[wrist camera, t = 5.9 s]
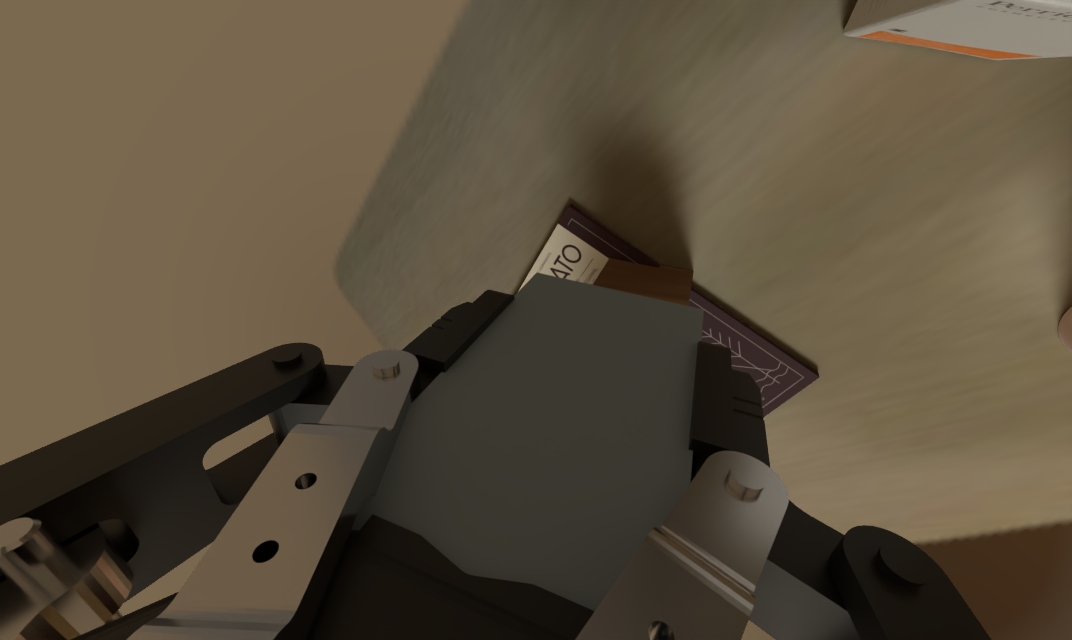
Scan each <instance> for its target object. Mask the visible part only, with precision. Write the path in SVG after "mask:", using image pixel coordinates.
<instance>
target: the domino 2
mask: <svg viewBox="0 0 1072 640" xmlns="http://www.w3.org/2000/svg"><path fill="white" fill-rule="evenodd" d="M692 278H693V271H689V270H684V269H679V268H674V267H669V266H664V265H660V268H657V267H652V266H647V265H642V264H637V263H632V262H627V261H622V260H617V259H612V258H609V260H608V261H607V263H606V264H605V266H604V267H603V269H602V271H601V272H600V274H599V275H598V277H597V279H596V280H595V282H594V283H593V285H596V286H600V287H605V288H609V289H614V290H618V291H623V292H627V293H632V294H636V295H641V296H645V297H650V298H654V299H659V300H663V301H668V302H672V303H677V304H681V305H686V306H688V305H689V298H690V291H691V284H692Z"/></svg>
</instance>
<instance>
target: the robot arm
mask: <svg viewBox="0 0 1072 640" xmlns="http://www.w3.org/2000/svg"><path fill="white" fill-rule="evenodd" d="M514 299H515V297H514V296H513V295H509V294H505V293H501V292H497V291H493V290H487V291H485V292H484V293H483V294H482V295H481V296H480V297H479V298H478V299H476V300H475V301H474V302H473V303H470V302H466V303H463V304H461V305H458V306H456V307H453V308H451V309H450V310H449V311H448V312H446V313H445V314H444V315H443V316H442V317H441V319H438V320H437V321H436V322H435V323H433V324H432V327H429V328H427V329H426V330H425V331H424V332H423V333H422V334H420V335H419V336H418V337H417V338H416V339H414V340H413V341H412V342H411V343H410V344H408V345H407V346H406V347H405V348H404V349H403V350H396V349H389V350H381V351H377V352H374V353H371V354H369V355H367V356H365V357H363V358H362V359H360V360H359V361H358V362H357V363H356V364H355V366H340V365H325V363H324V359H323V354H322V351H321V350H320V348H318V347H317V346H315V345H312V344H308V343H291V344H285V345H281V346H278V347H275V348H272V349H270V350H267V351H265V352H263V353H261V354H258V355H256V356H253V357H251V358H249V359H246V360H244V361H242V362H240V363H237V364H235V365H232V366H230V367H228V368H226V369H223V370H221V371H219V372H217V373H214V374H212V375H209V376H207V377H205V378H202V379H200V380H198V381H196V382H193V383H191V384H189V385H186V386H184V387H182V388H179V389H177V390H175V391H172V392H170V393H168V394H165V395H163V396H161V397H158V398H156V399H154V400H151V401H149V402H147V403H144V404H142V405H140V406H138V407H135V408H133V409H131V410H128V411H126V412H124V413H121V414H119V415H117V416H114V417H112V418H110V419H107V420H105V421H103V422H101V423H98V424H96V425H94V426H91V427H89V428H86V429H84V430H82V431H80V432H77V433H75V434H73V435H70V436H68V437H66V438H63V439H61V440H59V441H56V442H54V443H52V444H49V445H47V446H45V447H42V448H40V449H38V450H35V451H33V452H31V453H28V454H26V455H24V456H22V457H19V458H17V459H15V460H12V461H10V462H8V463H5V464H3V465H1V466H0V640H741V638H742V635H743V633H744V630H745V628H746V625H747V622H748V620H750V621H751V622H753V623H754V624H755V625H757V626H758V627H760V628H761V629H762V630H764V631H765V632H766V633H768V634H769V635H770V636H772V637H773V638H775V639H776V640H991V638H990V637H989V635H988V634H987V633H986V631H985V630H984V628H983V627H982V625H981V624H980V622H979V621H978V620H977V618H976V617H975V615H974V614H973V612H972V611H971V609H970V608H969V607H968V605H967V604H966V602H965V601H964V599H963V598H962V597H961V595H960V594H959V592H958V591H957V589H956V588H955V586H954V585H953V583H952V582H951V581H950V579H949V578H948V576H947V575H946V574H945V573H944V571H943V570H942V569H941V568H940V567H939V565H938V564H937V563H936V562H935V561H934V560H933V559H932V558H931V557H929V556H928V555H927V554H926V553H925V552H923V551H922V550H921V549H920V548H918V547H917V546H916V545H914V544H913V543H911V542H910V541H908V540H907V539H905V538H903V537H901V536H899V535H897V534H895V533H893V532H891V531H888V530H885V529H882V528H879V527H874V526H865V525H863V526H856V527H853V528H851V529H850V530H849V531H847V533H846V534H845V535H843V534H841V533H840V532H838V531H836V530H834V529H832V528H831V527H829V526H827V525H825V524H824V523H822V522H820V521H818V520H817V519H815V518H813V517H811V516H810V515H808V514H807V513H805V512H803V511H802V510H801V509H799V508H798V507H797V506H795V505H794V504H793V503H792V502H791V501H790V500H789V496H788V492H787V489H786V487H785V485H784V483H783V482H782V480H781V479H780V477H779V476H778V475H777V474H776V473H775V472H774V471H773V470H772V469H771V468H770V462H769V455H768V447H767V439H766V431H765V423H764V420H763V418H764V415H763V407H762V399H761V391H760V388H759V387H758V385H757V384H756V382H755V381H754V380H753V378H752V377H751V375H750V374H749V373H745V372H741V371H737V370H733V369H732V364H731V348H728V347H724V346H720V345H716V344H712V343H708V342H703V341H699V342H698V347H697V358H696V370H695V381H694V392H693V403H692V414H691V425H690V436H689V447H688V450H692V451H693V457H692V471H691V483H690V485H689V486H688V488H687V489H686V491H685V492H684V493H683V495H682V496H681V498H680V499H679V501H678V502H677V504H676V505H675V507H674V508H673V510H672V511H671V513H670V514H669V516H668V517H667V519H666V520H665V522H664V523H663V525H662V526H661V527H660V528H657V527H654V528H653V529H652V530H651V531H650V533H649V534H648V535H647V537H646V538H645V539H644V541H643V542H642V544H641V545H640V547H639V548H638V549H637V551H636V552H635V554H634V555H633V557H632V558H631V560H630V561H629V562H628V564H627V565H626V567H625V568H624V570H623V571H622V573H621V574H620V576H619V577H618V578H617V580H616V581H615V583H614V584H613V586H612V587H611V589H610V590H609V591H608V593H607V594H606V596H605V597H604V599H603V600H602V602H601V603H600V604H599V606H598V607H597V609H596V610H595V612H594V611H593V610H591V609H589V608H587V607H584V606H582V605H580V604H577V603H575V602H573V601H571V600H568V599H566V598H564V597H561V596H559V595H557V594H555V593H552V592H550V591H548V590H545V589H543V588H541V587H538V586H536V585H534V584H529V583H522V582H515V581H508V580H501V579H494V578H487V577H480V576H473V575H469V574H467V573H465V572H463V571H462V570H461V569H459V568H458V567H457V566H456V565H455V564H454V563H452V562H451V561H450V560H449V559H448V558H447V557H446V556H444V555H443V554H442V553H441V552H440V551H439V550H437V549H436V548H435V547H434V546H433V545H432V544H430V543H429V542H428V541H427V540H426V539H425V538H424V537H422V536H421V535H419V534H417V533H415V532H413V531H410V530H408V529H406V528H403V527H401V526H399V525H397V524H394V523H392V522H390V521H387V520H385V519H383V518H381V517H378V516H376V515H374V514H372V515H371V517H370V518H369V519H368V520H367V522H366V523H365V524H364V525H363V527H362V528H361V529H360V530H351V529H352V526H353V524H354V522H355V519H356V517H357V514H358V512H359V510H360V507H361V505H362V503H363V501H364V500H365V498H366V497H367V496H368V495H369V496H375V495H376V493H377V490H378V488H379V485H380V483H381V480H382V477H383V475H384V472H385V470H386V467H387V465H388V462H389V459H390V457H391V454H392V452H393V449H394V447H395V444H396V441H397V439H398V436H399V434H400V431H401V429H402V426H403V423H404V421H405V418H406V416H407V413H408V411H409V408H410V406H411V403H412V402H413V401H414V400H415V399H416V398H417V397H418V396H419V395H420V394H421V393H422V392H423V391H424V390H425V389H426V388H427V387H428V386H429V385H430V384H431V383H432V381H433V380H434V379H435V378H436V377H437V376H438V375H439V374H440V373H441V372H444V373H445V372H446V371H447V370H448V369H449V368H450V367H451V366H452V365H453V364H454V363H455V362H456V361H457V360H458V358H459V357H460V356H461V355H462V354H463V353H464V352H465V351H466V350H467V349H468V348H469V347H470V346H471V345H472V344H473V343H474V341H475V340H476V339H477V338H478V337H479V336H480V335H481V334H482V333H483V332H484V331H485V330H486V329H487V328H488V327H489V326H490V324H491V323H492V322H493V321H494V320H495V319H496V318H497V317H498V316H499V315H500V314H501V313H502V312H503V311H504V310H505V309H506V307H507V306H508V305H509V304H510V303H511V302H512V301H513V300H514ZM266 415H268V417H269V420H270V422H271V425H272V428H273V431H274V432H273V433H272V434H270V435H268V436H266V437H265V438H263V439H261V440H259V441H258V442H256V443H254V444H252V445H251V446H249V447H247V448H246V449H244V450H242V451H240V452H239V453H237V454H235V455H233V456H232V457H230V458H228V459H226V460H225V461H223V462H221V463H220V464H218V465H216V466H214V467H212V468H210V469H208V470H205V469H204V467H203V463H202V461H203V457H204V455H205V453H206V452H207V450H208V449H209V448H210V447H211V446H212V445H213V444H215V443H216V442H218V441H220V440H222V439H223V438H225V437H227V436H229V435H231V434H233V433H235V432H236V431H238V430H240V429H242V428H244V427H246V426H248V425H249V424H251V423H253V422H255V421H257V420H259V419H261V418H262V417H264V416H266ZM213 541H214V542H213ZM212 542H213V543H212ZM210 543H212V545H211V546H210V548H209V549H208V550H207V552H206V553H205V555H204V556H203V558H202V559H201V561H200V562H199V564H198V565H197V566H196V568H195V569H194V571H193V572H192V574H191V575H190V576H189V578H188V579H187V581H186V582H185V584H184V585H183V587H182V588H181V589H180V591H179V592H177V593H175V594H173V595H170V596H168V597H166V598H164V599H161V600H159V601H157V602H155V603H152V604H150V605H148V606H145V607H143V608H141V609H139V610H136V611H134V612H132V613H130V614H127V615H125V616H123V617H122V614H121V612H120V611H119V610H118V609H119V608H120V607H121V606H122V604H123V603H124V602H126V601H127V600H129V599H130V598H132V597H133V596H135V595H136V594H137V593H139V592H140V591H142V590H143V589H145V588H146V587H148V586H149V585H151V584H152V583H153V582H155V581H156V580H158V579H159V578H161V577H162V576H164V575H165V574H167V573H168V572H170V571H171V570H172V569H174V568H175V567H177V566H178V565H180V564H181V563H183V562H184V561H186V560H187V559H188V558H190V557H191V556H193V555H194V554H196V553H197V552H199V551H200V550H201V549H203V548H204V547H206V546H207V545H209V544H210Z"/></svg>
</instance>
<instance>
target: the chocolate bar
mask: <svg viewBox="0 0 1072 640" xmlns="http://www.w3.org/2000/svg"><path fill="white" fill-rule="evenodd" d="M609 258H612V259H617V260H622V261H627V262H632V263H637V264H642V265H647V266H652V267H657V268H660V264H659V263H657V262H656V261H654V260H653V259H651V258H650V257H648V256H647V255H645V254H644V253H643V252H641V251H640V250H638V249H637V248H635V247H634V246H632V245H631V244H629V243H628V242H626V241H625V240H623V239H622V238H621V237H619V236H618V235H616V234H615V233H613V232H612V231H610V230H609V229H607V228H606V227H604V226H603V225H601V224H600V223H599V222H597V221H596V220H594V219H593V218H591V217H590V216H588V215H587V214H585V213H584V212H582V211H581V210H579V209H578V208H577V207H575V206H574V205H572V204H570V205H569V206H568V208H567V209H566V211H565V213H564V215H563V216H562V218H561V220H560V221H559V223H558V225H557V226H556V228H555V230H554V232H553V233H552V235H551V237H550V238H549V240H548V242H547V243H546V245H545V247H544V248H543V250H542V252H541V254H540V255H539V257H538V259H537V260H536V262H535V264H534V265H533V267H532V269H531V271H530V272H529V274H528V276H527V277H526V279H525V281H524V282H523V284H522V286H521V288H522V287H523V286H524V285H525V284H526V283H527V282H528V281H529V280H530V279H531V278H532V277H533V276H534V275H535V274H536V273H542V274H546V275H551V276H555V277H560V278H564V279H569V280H573V281H578V282H582V283H587V284H591V285H593V283H594V282H595V280H596V279H597V277H598V275H599V274H600V272H601V271H602V269H603V267H604V266H605V264H606V263H607V261H608V260H609ZM521 288H520V289H521ZM520 289H519V291H520ZM519 291H518V292H519ZM688 306H690V307H695V308H699V309H704V313H703V326H702V339H701V341H703V342H708V343H712V344H716V345H720V346H724V347H728V348H731V364H732V369H733V370H737V371H741V372H745V373H749V374H750V375H751V377H752V378H753V380H754V381H755V382H756V384H757V385H758V387H759V388H760V391H761V399H762V407H763V415H764V417H765V416H766V415H767V414H769V413H770V412H771V411H773V410H774V409H776V408H777V407H778V406H780V405H781V404H783V403H784V402H785V401H787V400H788V399H790V398H791V397H792V396H794V395H795V394H797V393H798V392H799V391H801V390H802V389H804V388H805V387H806V386H808V385H809V384H811V383H812V382H813V381H815V380H816V379H818V378H819V374H818V372H817V371H816V370H814V369H813V368H811V367H810V366H808V365H807V364H805V363H804V362H802V361H801V360H799V359H798V358H797V357H795V356H794V355H792V354H791V353H789V352H788V351H786V350H785V349H783V348H782V347H780V346H779V345H777V344H776V343H775V342H773V341H772V340H770V339H769V338H767V337H766V336H764V335H763V334H761V333H760V332H758V331H757V330H755V329H754V328H753V327H751V326H750V325H748V324H747V323H745V322H744V321H742V320H741V319H739V318H738V317H736V316H735V315H733V314H732V313H731V312H729V311H728V310H726V309H725V308H723V307H722V306H720V305H719V304H717V303H716V302H714V301H713V300H711V299H710V298H709V297H707V296H706V295H704V294H703V293H701V292H700V291H698V290H697V289H695V288H694V287H692V286H691V291H690V298H689V305H688Z"/></svg>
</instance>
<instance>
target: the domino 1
mask: <svg viewBox="0 0 1072 640" xmlns="http://www.w3.org/2000/svg"><path fill="white" fill-rule="evenodd" d="M514 297H515V299H514V300H513V301H512V302H511V303H510V304H509V305H508V306H507V307H506V309H505V310H504V311H503V312H502V313H501V314H500V315H499V316H498V317H497V318H496V319H495V320H494V321H493V322H492V323H491V324H490V326H489V327H488V328H487V329H486V330H485V331H484V332H483V333H482V334H481V335H480V336H479V337H478V338H477V339H476V340H475V341H474V343H473V344H472V345H471V346H470V347H469V348H468V349H467V350H466V351H465V352H464V353H463V354H462V355H461V356H460V357H459V358H458V360H457V361H456V362H455V363H454V364H453V365H452V366H451V367H450V368H449V369H448V370H447V371H446V372H445V373H444V372H441V373H440V374H439V375H438V376H437V377H436V378H435V379H434V380H433V381H432V383H431V384H430V385H429V386H428V387H427V388H426V389H425V390H424V391H423V392H422V393H421V394H420V395H419V396H418V397H417V398H416V399H415V400H414V401H413V402H412V403H411V406H410V408H409V411H408V413H407V416H406V418H405V421H404V423H403V426H402V429H401V431H400V434H399V436H398V439H397V441H396V444H395V447H394V449H393V452H392V454H391V457H390V459H389V462H388V465H387V467H386V470H385V472H384V475H383V477H382V480H381V483H380V485H379V488H378V490H377V493H376V495H375V496H369V495H368V496H367V497H366V498H365V500H364V501H363V503H362V505H361V507H360V510H359V512H358V514H357V517H356V519H355V522H354V524H353V526H352V529H351V530H360V529H361V528H362V527H363V525H364V524H365V523H366V522H367V520H368V519H369V518H370V517H371V515H372V514H374V515H376V516H378V517H381V518H383V519H385V520H387V521H390V522H392V523H394V524H397V525H399V526H401V527H403V528H406V529H408V530H410V531H413V532H415V533H417V534H419V535H421V536H422V537H424V538H425V539H426V540H427V541H428V542H429V543H430V544H432V545H433V546H434V547H435V548H436V549H437V550H439V551H440V552H441V553H442V554H443V555H444V556H446V557H447V558H448V559H449V560H450V561H451V562H452V563H454V564H455V565H456V566H457V567H458V568H459V569H461V570H462V571H463V572H465V573H467V574H469V575H473V576H480V577H487V578H494V579H501V580H508V581H515V582H522V583H529V584H534V585H536V586H538V587H541V588H543V589H545V590H548V591H550V592H552V593H555V594H557V595H559V596H561V597H564V598H566V599H568V600H571V601H573V602H575V603H577V604H580V605H582V606H584V607H587V608H589V609H591V610H593V611H594V612H595V610H596V609H597V607H598V606H599V604H600V603H601V602H602V600H603V599H604V597H605V596H606V594H607V593H608V591H609V590H610V589H611V587H612V586H613V584H614V583H615V581H616V580H617V578H618V577H619V576H620V574H621V573H622V571H623V570H624V568H625V567H626V565H627V564H628V562H629V561H630V560H631V558H632V557H633V555H634V554H635V552H636V551H637V549H638V548H639V547H640V545H641V544H642V542H643V541H644V539H645V538H646V537H647V535H648V534H649V533H650V531H651V530H652V529H653V528H654V527H657V528H660V527H661V526H662V525H663V523H664V522H665V520H666V519H667V517H668V516H669V514H670V513H671V511H672V510H673V508H674V507H675V505H676V504H677V502H678V501H679V499H680V498H681V496H682V495H683V493H684V492H685V491H686V489H687V488H688V486H689V485H690V483H691V471H692V457H693V451H692V450H688V447H689V436H690V425H691V414H692V403H693V392H694V381H695V370H696V358H697V347H698V342H699V341H701V339H702V326H703V313H704V309H699V308H695V307H690V306H686V305H681V304H677V303H672V302H668V301H663V300H659V299H654V298H650V297H645V296H641V295H636V294H632V293H627V292H623V291H618V290H614V289H609V288H605V287H600V286H596V285H591V284H587V283H582V282H578V281H573V280H569V279H564V278H560V277H555V276H551V275H546V274H542V273H536V274H535V275H534V276H533V277H532V278H531V279H530V280H529V281H528V282H527V283H526V284H525V285H524V286H523V287H522V288H521V289H520V291H519V292H518V293H517V294H516V295H515V296H514Z"/></svg>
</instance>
